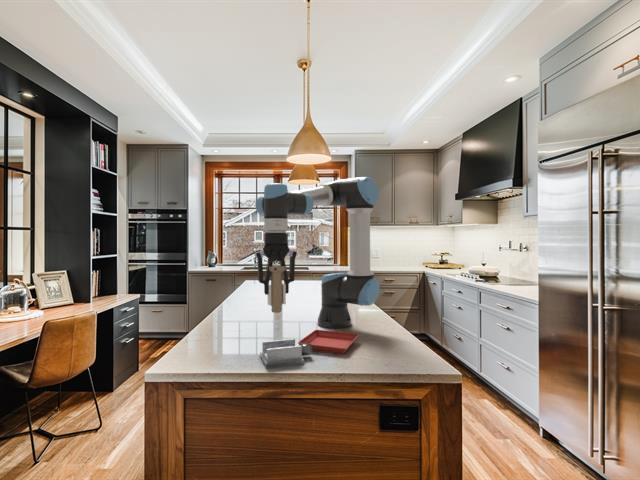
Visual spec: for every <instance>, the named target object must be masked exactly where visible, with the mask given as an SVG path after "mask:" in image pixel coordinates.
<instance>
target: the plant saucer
mask: <svg viewBox="0 0 640 480" xmlns="http://www.w3.org/2000/svg"><path fill="white" fill-rule="evenodd" d="M359 336H360V334H359V333H351V332H342V331H333V330H323V329H315V330H313V331H312V332H310V333H309V334H307V335H306V336H305V337H304V338H301V339H300V340H299V341H297V342H298V343H297V344H298V345H303V344H311V345H312V352H313V351H314V352H320V353H328V354H329V353H330V354H337V355H344V354H345V353H346V352H347V351H348V350H349V349H350V347H351V346H352V345H353V344H354V343H355V342H356V341H357V339H358V338H359Z"/></svg>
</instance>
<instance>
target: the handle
mask: <svg viewBox="0 0 640 480" xmlns="http://www.w3.org/2000/svg"><path fill="white" fill-rule="evenodd" d="M265 267H266V270H268V266H267V265H266V266H265ZM266 270H265V271H266ZM285 270H287V265H286V266H281V265H279V264H275V265H272V266H271V267H269V271H271V275H270V284H271V305H270V306H271V313H277V314H278V313H281V312H282V310H283V308H282V307H283V303H282V301H283V291H282V283H283V279H282V278H283V275H282V272H283V271H285Z"/></svg>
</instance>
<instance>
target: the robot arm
mask: <svg viewBox="0 0 640 480" xmlns="http://www.w3.org/2000/svg"><path fill="white" fill-rule="evenodd" d="M379 199H380V191H379V186H378V184H377V183H376V181H375V180H374V179H373V178H372V177H369V176H359V177H351V178H342V179H338V180H334V181H329V182H327V183H322V184H320V185H318V186H317V187H313V188H311V187H310V188H307V189H299V190H293V191H289V190H288V186H287V184H284V183H268V184H266V185H264V190H263V195H261V196H258V198H257V199H256V201H255V210H256V212H257V213H258V215H260V216H263V218H264V220H263V222H264V224H263V225H264V228H263V229H264V231H265V233H264V247H263V248H262V250H260V251H256V252H255V257H256V259H257V277H258V282H259V284H263V286H264V287H263V289H264V291H263V293H264V295H265V296H267V305H268V306H271V283H270V281H271V271H269V267H271V266H272V265H273V264H274V262H276V261H279V264H280V265H281V266H286V267H287V265H286V260H285V258H286V257H287V256H288V257H289V268H288V270H289V272H288V271H287V269H286V270H285V271H283V272H282V278H283V279H282V281H283V282H282V291H283V301H282V305H286V303H287V301H286V295H287V294H289V292H290V291H289V290H290V289H289V288H290V285H289V284H290V283H292V282H294V281H295V273H296V272H295V271H296V257H297V254H298V252H297V251H293V250H291V249H290V248H289V247H290V246H289V243H288V242H289V237H288V236H289V234H288V232H287V231H288V230H289V229H288V227H289V226H288V221H289V220H288V217H289V216H296V215H299V216H307V215H309V214H311V212H312V211H313V209H314V207H318V206H321V207H330V206H331V207H332V206H333V207H334V206H335V207H339V206H340V207H345V211H347V212H348V213H349V259H350V260H349V270H348V271H347V272H337V273H335V272H334V273H328V274H323V275H322V277H321V283H320V285H321V308H320V312H319V314H318V318H317V325H318V326H320V327H323V328H327V329H343V328H348V327H351V326H352V318H351V314H350V312H349V308H348V304H350V305H358V306H361V307H363V306H365V307H367V306H368V307H369V306H373V304H375V302H376V301H377V299H378V297H379V295H380V287H381V285H380V282H379V280H378V279H377V278H375V273H374V272H373V271H372V270H371V213H372V211H374V207H375V205H377V204H378V202H379ZM264 254H265V256H266V257H267V265H266V266H268V270H265V274H264V267H263V266H264V264H263V263H264V262H263V258H264ZM288 273H289V274H288Z"/></svg>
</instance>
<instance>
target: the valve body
mask: <svg viewBox="0 0 640 480" xmlns="http://www.w3.org/2000/svg"><path fill="white" fill-rule="evenodd" d="M261 347H262V349H261V350H262V351H260V352H259V357H260V358H261V360H262V362H263V365H264V366H265V368H266V369H271V368H272V369H273V368H279V367H280V368H281V367H288V366H298V365H305V359H304V358H303V357H305V356H306V357H307V356H312V355H313V351H312V345H311V344H303V345H299V344H298V345H296V339H295V338H287V339H276V340H265V341H262V342H261Z"/></svg>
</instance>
